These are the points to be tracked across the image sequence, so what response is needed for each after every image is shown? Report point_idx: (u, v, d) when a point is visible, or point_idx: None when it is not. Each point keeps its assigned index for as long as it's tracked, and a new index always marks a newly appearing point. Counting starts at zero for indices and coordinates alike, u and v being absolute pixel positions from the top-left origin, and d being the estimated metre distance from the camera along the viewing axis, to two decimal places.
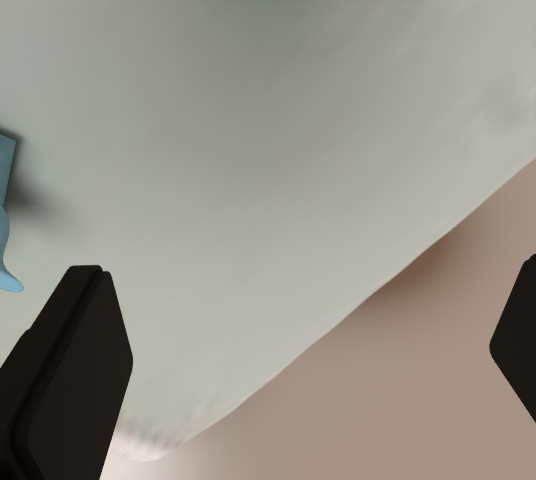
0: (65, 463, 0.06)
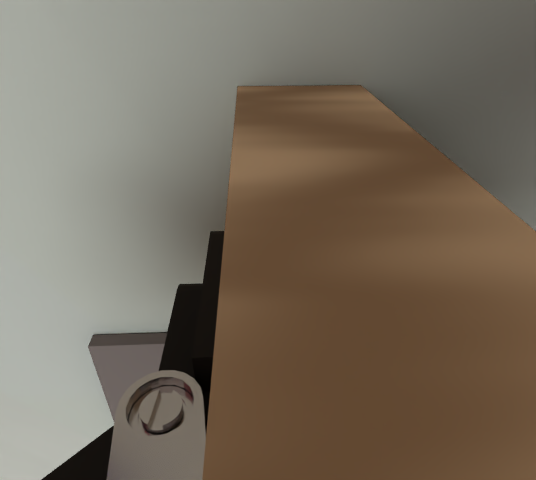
0: None
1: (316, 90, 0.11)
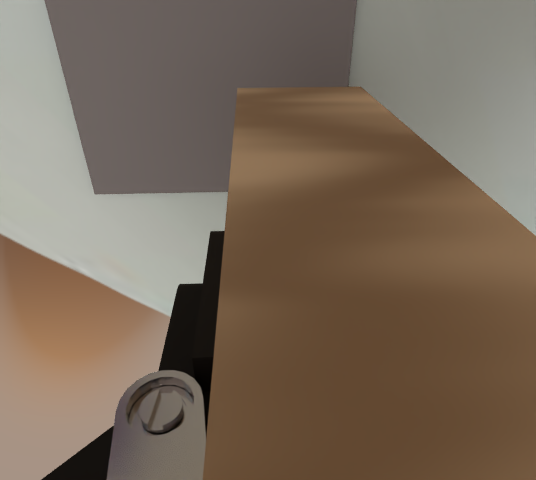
0: None
1: (316, 92, 0.11)
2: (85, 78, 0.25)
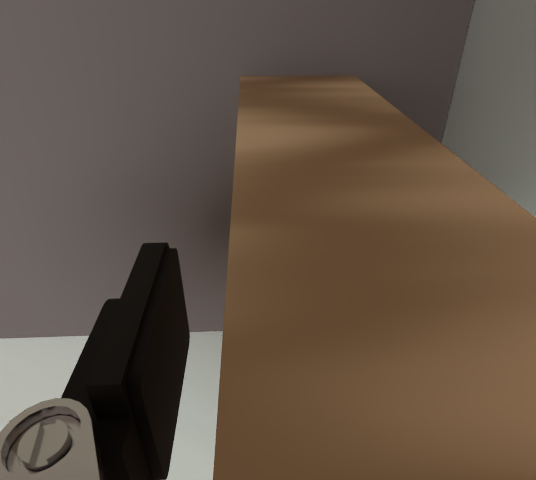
0: (158, 413, 0.07)
1: (313, 79, 0.12)
2: None
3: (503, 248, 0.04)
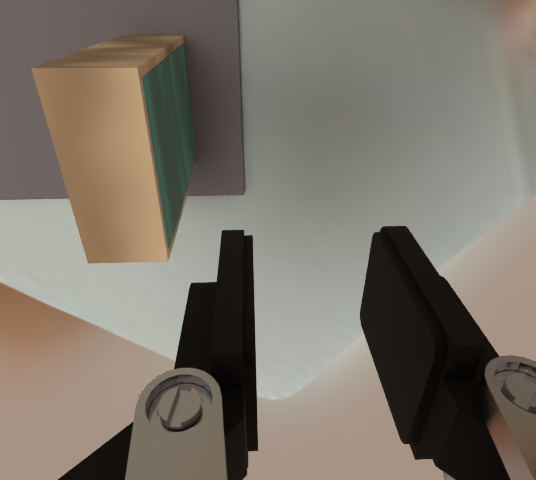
0: None
1: (158, 35, 0.23)
2: None
3: (132, 57, 0.15)
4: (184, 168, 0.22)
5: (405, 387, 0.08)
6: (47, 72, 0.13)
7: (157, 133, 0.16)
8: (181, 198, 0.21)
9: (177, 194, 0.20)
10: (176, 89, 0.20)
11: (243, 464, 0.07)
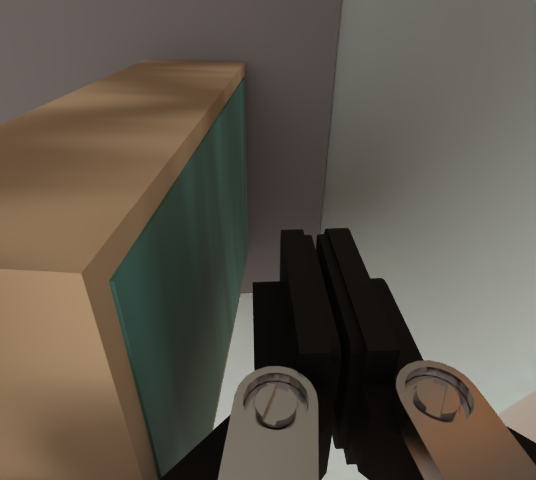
0: None
1: (201, 64, 0.13)
2: None
3: (111, 166, 0.06)
4: (229, 306, 0.12)
5: None
6: None
7: (166, 361, 0.06)
8: (219, 378, 0.11)
9: (212, 389, 0.10)
10: (224, 179, 0.10)
11: (325, 462, 0.07)
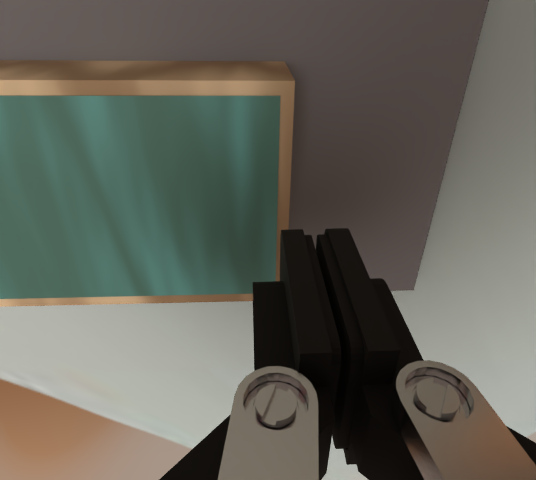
0: None
1: (269, 72, 0.12)
2: None
3: None
4: (135, 267, 0.14)
5: None
6: None
7: None
8: (84, 288, 0.15)
9: (54, 274, 0.14)
10: (121, 154, 0.12)
11: (326, 462, 0.07)
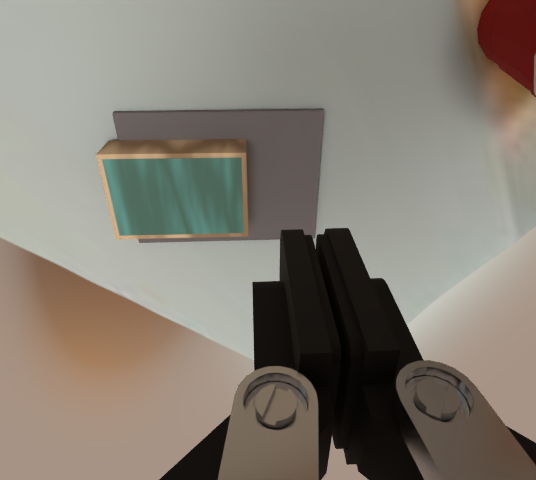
0: None
1: (238, 147, 0.33)
2: None
3: (128, 151, 0.32)
4: (187, 221, 0.35)
5: None
6: (107, 143, 0.34)
7: (118, 185, 0.33)
8: (165, 230, 0.36)
9: (154, 224, 0.35)
10: (185, 177, 0.33)
11: (325, 462, 0.07)
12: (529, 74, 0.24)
